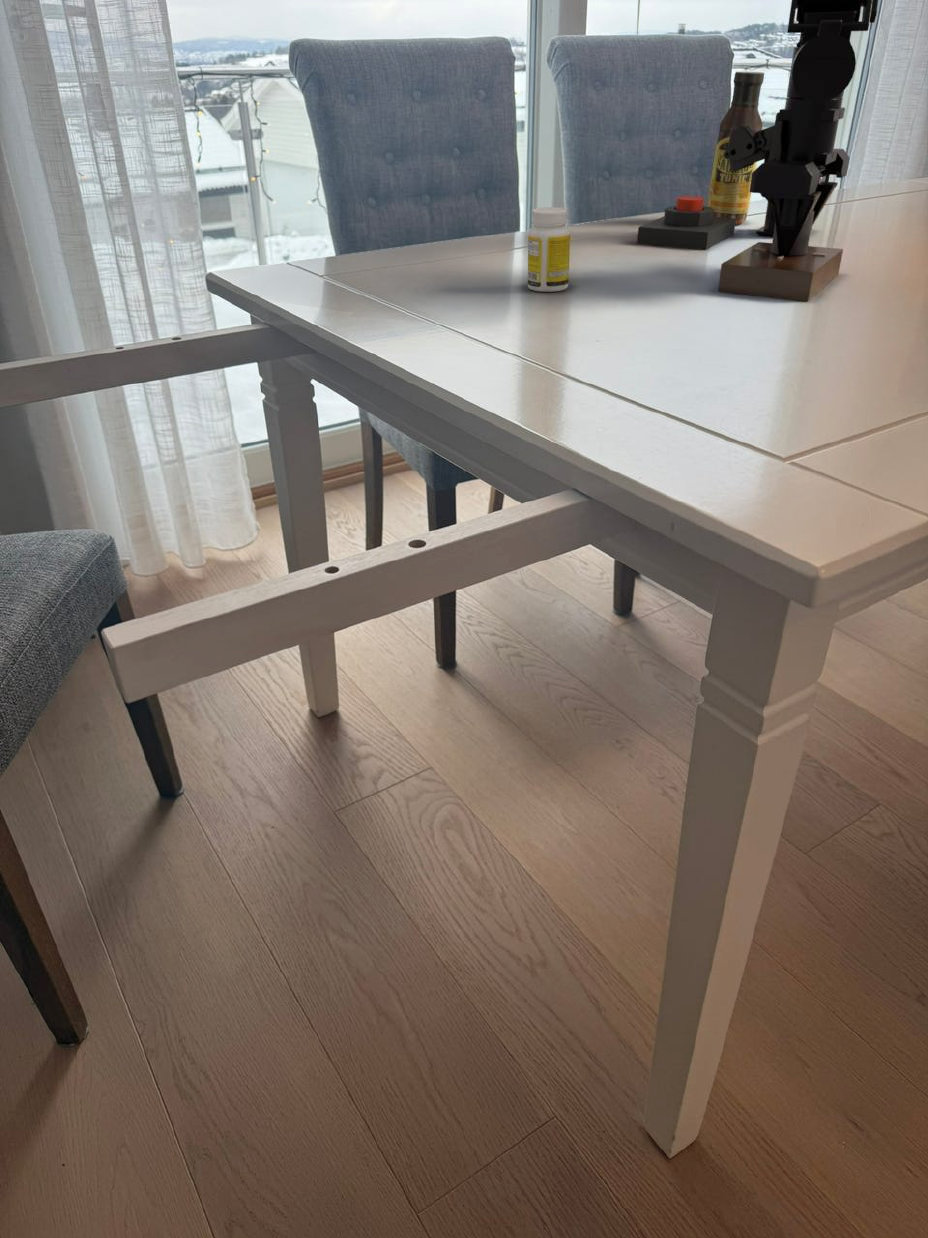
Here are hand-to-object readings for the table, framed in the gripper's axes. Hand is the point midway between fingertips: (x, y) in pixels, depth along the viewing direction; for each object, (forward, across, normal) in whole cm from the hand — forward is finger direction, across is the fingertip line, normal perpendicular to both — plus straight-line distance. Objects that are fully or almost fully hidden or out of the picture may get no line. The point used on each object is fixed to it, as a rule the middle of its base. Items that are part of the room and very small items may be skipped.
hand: (788, 252), depth 104 cm
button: (-1, -19, -19) cm, 27 cm away
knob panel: (+3, +2, 0) cm, 4 cm away
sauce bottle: (+3, -34, -18) cm, 39 cm away
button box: (+3, -19, -19) cm, 27 cm away
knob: (0, 0, 0) cm, 0 cm away
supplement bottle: (+3, +16, -23) cm, 28 cm away
